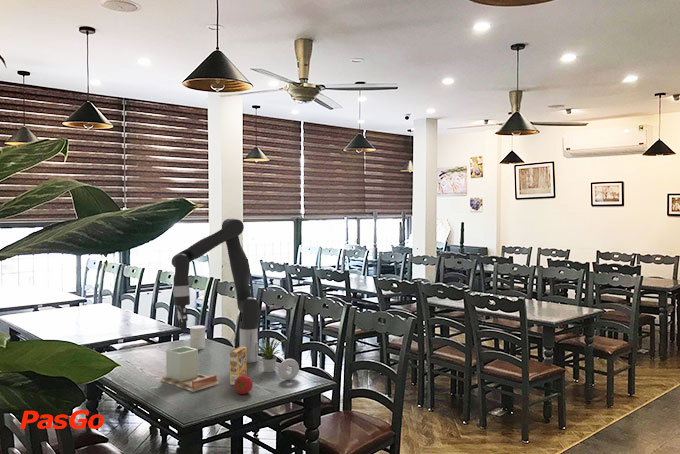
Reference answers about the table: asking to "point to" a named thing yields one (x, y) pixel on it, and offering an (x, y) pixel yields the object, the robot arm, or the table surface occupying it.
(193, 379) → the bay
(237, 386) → the tomato
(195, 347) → the cup
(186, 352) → the square container
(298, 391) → the table surface
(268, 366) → the house plant
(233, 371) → the candy box
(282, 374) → the donut
